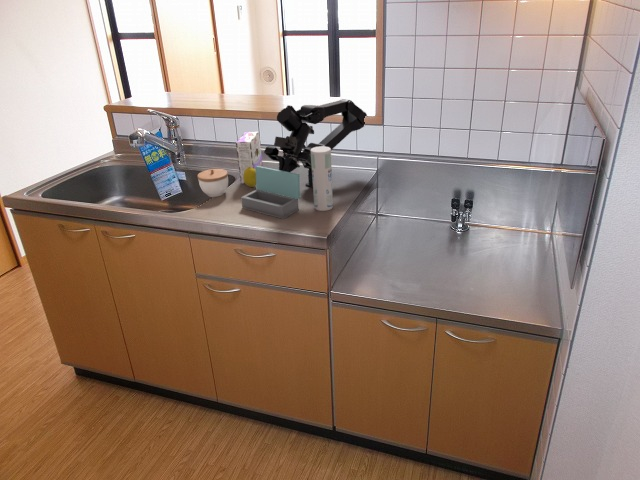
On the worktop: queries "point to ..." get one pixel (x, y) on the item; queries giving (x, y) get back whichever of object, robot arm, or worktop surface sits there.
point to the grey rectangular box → (270, 203)
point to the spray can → (322, 178)
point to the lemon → (250, 177)
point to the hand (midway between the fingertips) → (279, 178)
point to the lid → (278, 182)
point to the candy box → (248, 152)
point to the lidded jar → (213, 182)
